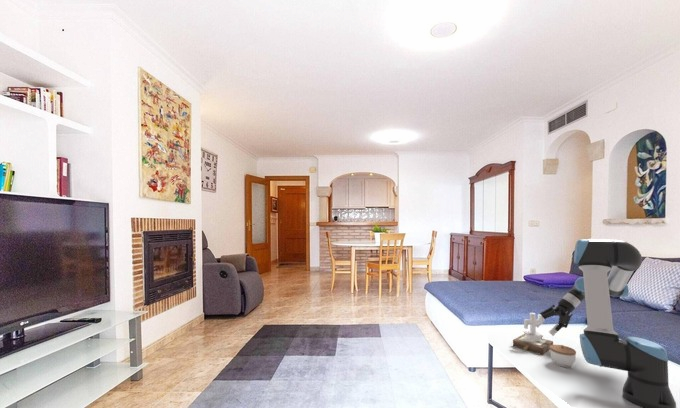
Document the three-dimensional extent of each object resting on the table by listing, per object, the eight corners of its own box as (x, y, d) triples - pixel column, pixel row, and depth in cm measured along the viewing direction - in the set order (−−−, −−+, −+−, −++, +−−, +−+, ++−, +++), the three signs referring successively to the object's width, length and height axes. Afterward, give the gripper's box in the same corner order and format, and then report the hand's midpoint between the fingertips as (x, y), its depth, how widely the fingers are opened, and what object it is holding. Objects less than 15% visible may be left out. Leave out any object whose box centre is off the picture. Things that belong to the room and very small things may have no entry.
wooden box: (540, 356, 166) (540, 348, 167) (510, 347, 178) (510, 340, 178) (553, 347, 179) (553, 340, 179) (524, 340, 190) (524, 333, 191)
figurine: (521, 337, 183) (520, 311, 184) (538, 337, 183) (537, 311, 184) (528, 342, 176) (527, 314, 177) (545, 342, 176) (544, 315, 177)
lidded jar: (581, 370, 151) (580, 350, 152) (555, 368, 153) (555, 348, 154) (569, 361, 162) (569, 342, 162) (546, 359, 164) (545, 340, 164)
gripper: (590, 314, 168) (563, 342, 168) (558, 302, 193) (534, 327, 192) (580, 304, 169) (552, 332, 168) (549, 293, 194) (525, 318, 193)
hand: (543, 329), depth 180 cm, fingers open, 13 cm apart
